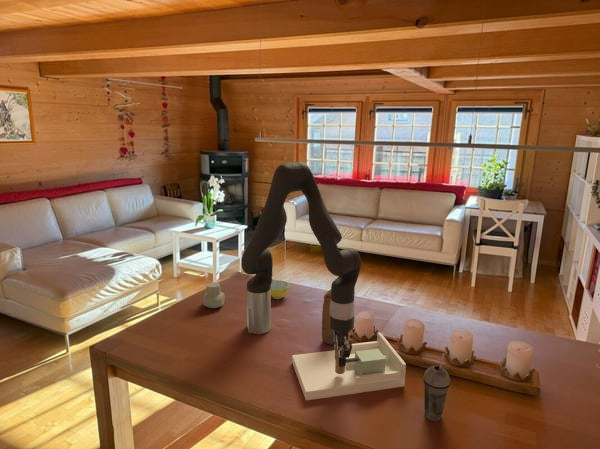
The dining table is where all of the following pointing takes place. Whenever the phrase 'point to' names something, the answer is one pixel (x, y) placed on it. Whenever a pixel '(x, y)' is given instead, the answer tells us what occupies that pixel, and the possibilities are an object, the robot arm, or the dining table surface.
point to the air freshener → (213, 296)
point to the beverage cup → (435, 391)
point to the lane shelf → (347, 372)
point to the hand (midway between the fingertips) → (340, 362)
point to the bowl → (279, 289)
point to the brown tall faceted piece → (326, 319)
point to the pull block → (364, 362)
